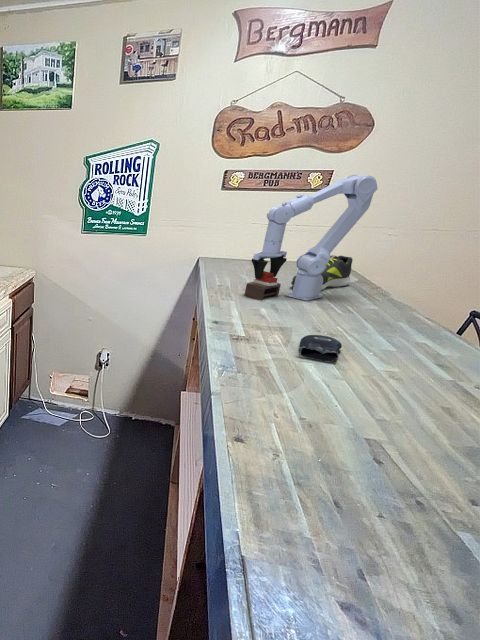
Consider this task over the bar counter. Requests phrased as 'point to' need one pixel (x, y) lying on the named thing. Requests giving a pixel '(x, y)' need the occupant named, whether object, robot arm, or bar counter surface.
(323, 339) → the electronic device
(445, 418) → the bar counter surface
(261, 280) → the shoe
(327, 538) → the bar counter surface
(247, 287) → the box
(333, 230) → the robot arm
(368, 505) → the bar counter surface
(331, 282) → the running shoe
